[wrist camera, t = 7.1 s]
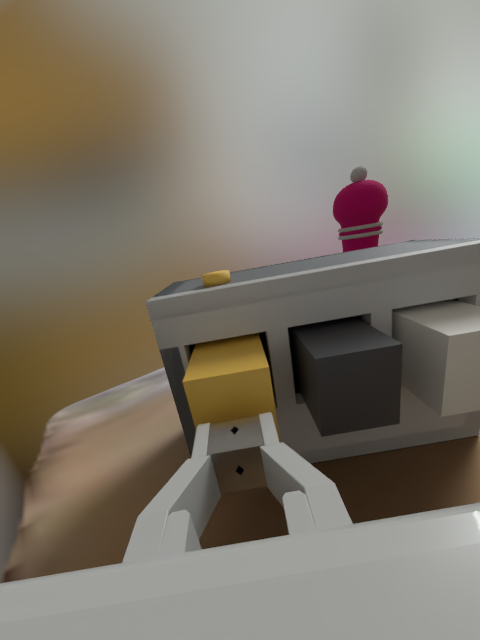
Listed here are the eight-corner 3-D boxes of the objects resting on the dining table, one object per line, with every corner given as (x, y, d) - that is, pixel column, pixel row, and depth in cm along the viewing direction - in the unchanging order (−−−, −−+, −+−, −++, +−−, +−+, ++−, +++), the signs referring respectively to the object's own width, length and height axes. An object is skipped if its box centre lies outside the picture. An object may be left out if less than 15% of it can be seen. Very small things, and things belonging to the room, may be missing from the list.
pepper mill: (378, 340, 30) (378, 151, 24) (324, 330, 35) (313, 175, 29) (399, 321, 34) (405, 157, 28) (349, 315, 39) (344, 177, 33)
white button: (445, 362, 15) (451, 299, 14) (520, 403, 11) (537, 320, 10) (386, 372, 15) (387, 310, 14) (440, 416, 11) (449, 335, 10)
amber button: (267, 392, 15) (258, 332, 14) (280, 443, 11) (268, 366, 10) (209, 402, 15) (195, 343, 14) (203, 456, 11) (182, 381, 10)
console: (406, 380, 22) (413, 231, 18) (478, 435, 15) (512, 224, 12) (207, 414, 22) (172, 274, 18) (198, 482, 16) (141, 290, 12)
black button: (355, 377, 15) (354, 316, 14) (399, 423, 11) (402, 343, 10) (297, 387, 15) (291, 327, 14) (321, 437, 11) (315, 358, 10)
